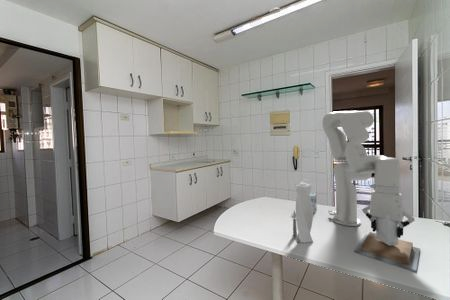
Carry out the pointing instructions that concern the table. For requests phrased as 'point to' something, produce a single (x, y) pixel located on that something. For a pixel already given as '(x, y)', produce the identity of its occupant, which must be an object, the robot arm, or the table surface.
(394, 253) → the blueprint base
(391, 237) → the skincare box
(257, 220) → the table surface
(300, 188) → the skyscraper
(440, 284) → the table surface
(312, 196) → the light bulb box
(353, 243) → the table surface
